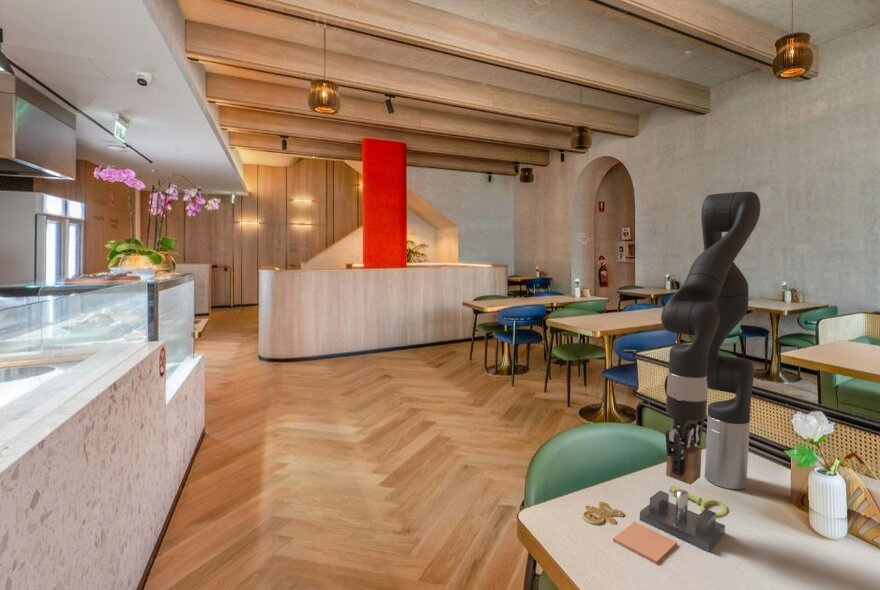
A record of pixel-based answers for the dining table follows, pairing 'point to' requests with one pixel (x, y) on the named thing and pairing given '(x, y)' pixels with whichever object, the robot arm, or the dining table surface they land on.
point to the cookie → (601, 514)
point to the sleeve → (687, 465)
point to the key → (704, 502)
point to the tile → (645, 542)
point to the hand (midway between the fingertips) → (683, 470)
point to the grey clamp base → (683, 520)
